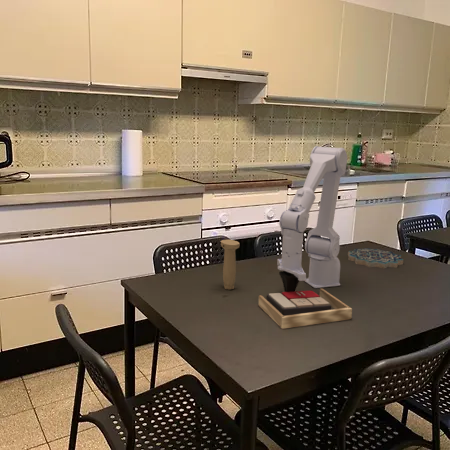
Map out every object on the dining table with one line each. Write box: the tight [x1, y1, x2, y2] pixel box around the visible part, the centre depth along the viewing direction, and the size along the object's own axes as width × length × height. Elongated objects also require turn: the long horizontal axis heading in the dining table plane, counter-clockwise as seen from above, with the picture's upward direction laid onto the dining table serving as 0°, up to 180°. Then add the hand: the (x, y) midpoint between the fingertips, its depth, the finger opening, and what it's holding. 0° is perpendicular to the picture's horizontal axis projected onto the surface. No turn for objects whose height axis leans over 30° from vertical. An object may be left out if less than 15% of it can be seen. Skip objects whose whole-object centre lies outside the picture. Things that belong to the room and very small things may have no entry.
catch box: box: [258, 287, 353, 330], centre depth 127 cm, size 21×16×3 cm
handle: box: [220, 239, 240, 291], centre depth 142 cm, size 5×6×15 cm
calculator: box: [265, 290, 332, 316], centre depth 128 cm, size 11×4×15 cm
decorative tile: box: [347, 247, 404, 269], centre depth 176 cm, size 20×20×2 cm
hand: (289, 295), depth 135 cm, fingers closed
